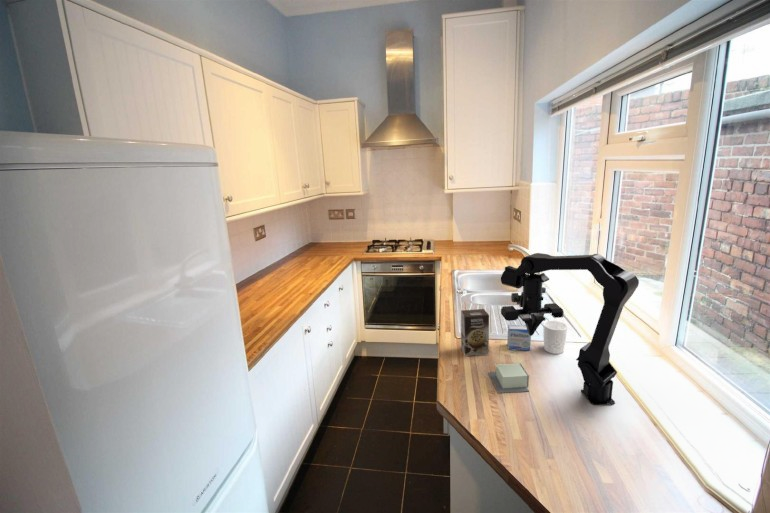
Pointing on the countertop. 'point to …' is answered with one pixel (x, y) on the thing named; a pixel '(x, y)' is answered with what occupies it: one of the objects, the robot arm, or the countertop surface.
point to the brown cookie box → (474, 332)
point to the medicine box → (518, 338)
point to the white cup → (554, 336)
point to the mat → (505, 390)
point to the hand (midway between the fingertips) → (530, 335)
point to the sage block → (512, 375)
